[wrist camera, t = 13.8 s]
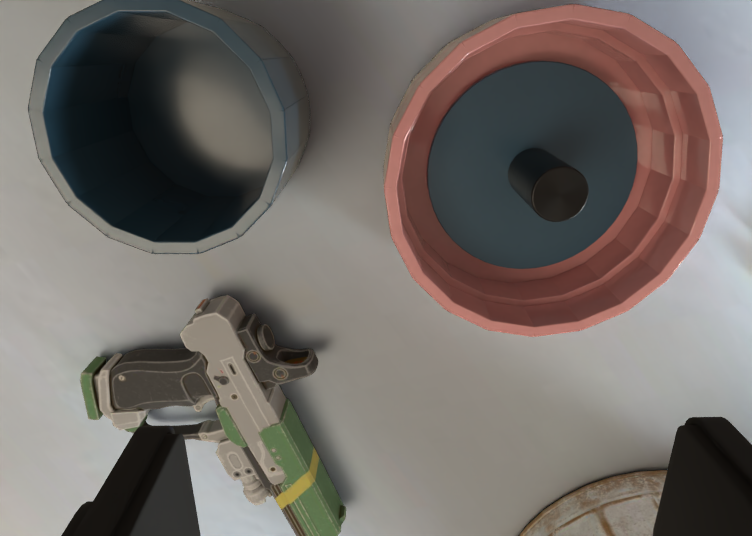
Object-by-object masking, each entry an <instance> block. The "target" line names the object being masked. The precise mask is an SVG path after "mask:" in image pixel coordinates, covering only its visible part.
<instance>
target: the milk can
mask: <svg viewBox="0 0 752 536" xmlns="http://www.w3.org/2000/svg"><path fill="white" fill-rule="evenodd" d="M666 474H667V470H658V471H642V472H634V473H629V474H624V475H619V476H614V477H610V478H607V479H604V480H601V481H598V482H595V483H592V484H589V485H586V486H584V487H582V488H580V489H578V490H576V491H574V492H572V493H570V494H568V495H566V496H564V497H562V498H561V499H559V500H558V501H557V502H555V503H554V504H552V505H551V506H549V507H548V508H546V509H545V510H543V511H542V512H541V513H540V514H539V515H538V516H537V517H536V518H535V519H534V520H533V521H531V522H530V523H529V524H528V525H527V526H526V527H525V529H524V530H523V531H522V533H521V534H520V535H519V536H653V528H654V524H655V520H656V516H657V512H658V508H659V503H660V499H661V495H662V491H663V487H664V482H665V478H666Z"/></svg>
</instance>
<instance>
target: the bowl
mask: <svg viewBox="0 0 752 536" xmlns="http://www.w3.org/2000/svg"><path fill="white" fill-rule="evenodd" d="M529 61H553V62H561V63H565V64H570V65H573V66H576V67H579V68H581V69H584V70H586V71H588V72H590V73H591V74H593V75H595V76H597V77H598V78H599V79H601V80H602V81H603V82H605V83H606V84H607V85H608V86H609V87H610V88H611V89H612V90H613V91H614V92H615V93H616V94H617V95H618V97H619V98H620V100H621V101H622V103H623V104H624V106H625V107H626V109H627V111H628V113H629V116H630V118H631V120H632V123H633V127H634V130H635V134H636V140H637V155H638V160H637V169H636V175H635V179H634V183H633V187H632V190H631V192H630V195H629V198H628V200H627V202H626V204H625V206H624V208H623V209H622V211H621V213H620V214H619V216H618V217H617V219H616V220H615V222H614V223H613V224H612V225H611V226H610V228H609V229H608V230H607V231H606V232H605V233H604V234H603V235H602V236H601V237H600V238H599V239H598V240H597V241H596V242H594V243H593V244H592V245H590V246H589V247H588V248H586V249H585V250H583V251H582V252H580V253H578V254H576V255H575V256H573V257H571V258H569V259H566V260H564V261H562V262H559V263H556V264H552V265H549V266H545V267H539V268H531V269H513V268H505V267H500V266H495V265H492V264H489V263H486V262H484V261H482V260H479V259H477V258H475V257H473V256H472V255H470V254H469V253H467V252H466V251H464V250H463V249H462V248H461V247H459V246H458V245H457V244H456V243H455V242H454V241H453V240H452V239H451V238H450V237H449V235H448V234H447V233H446V232H445V230H444V229H443V227H442V226H441V224H440V223H439V221H438V219H437V216H436V214H435V212H434V210H433V207H432V204H431V200H430V197H429V191H428V185H427V164H428V156H429V151H430V147H431V143H432V140H433V138H434V135H435V132H436V130H437V128H438V126H439V124H440V122H441V120H442V118H443V117H444V115H445V114H446V112H447V111H448V109H449V108H450V107H451V105H452V104H453V103H454V102H455V101H456V100H457V99H458V97H459V96H460V95H461V94H462V93H463V92H465V91H466V90H467V89H468V88H469V87H470V86H471V85H473V84H474V83H476V82H477V81H479V80H480V79H482V78H483V77H485V76H486V75H488V74H490V73H492V72H494V71H496V70H498V69H501V68H504V67H507V66H510V65H513V64H518V63H523V62H529ZM722 137H723V135H722V131H721V128H720V124H719V120H718V117H717V113H716V109H715V105H714V102H713V98H712V94H711V91H710V87H709V86H708V84H707V82H706V81H705V80H704V78H703V77H702V76H701V74H700V73H699V72H698V70H697V69H696V68H695V66H694V65H693V63H692V62H691V61H690V59H689V58H688V57H687V55H686V54H685V53H684V51H683V50H682V49H681V47H680V46H679V44H677V43H676V42H675V41H674V40H672V39H670V38H669V37H667V36H665V35H664V34H662V33H661V32H659V31H657V30H656V29H654V28H652V27H651V26H649V25H648V24H646V23H644V22H643V21H641V20H639V19H638V18H636V17H635V16H633V15H630V14H628V13H623V12H617V11H612V10H606V9H601V8H595V7H590V6H584V5H579V4H568V5H562V6H556V7H550V8H544V9H538V10H532V11H526V12H520V13H515V14H511V15H508V16H504V17H500V18H496V19H493V20H490V21H488V22H487V23H485V24H483V25H481V26H479V27H477V28H475V29H473V30H472V31H470V32H468V33H466V34H464V35H462V36H460V37H458V38H456V39H455V40H453V41H451V42H449V43H448V44H447V45H445V47H444V48H443V49H442V50H441V51H440V52H439V53H438V54H437V55H436V56H435V57H434V58H433V59H432V60H431V61H430V62H429V63H428V64H427V65H426V66H425V67H424V68H423V69H422V70H421V71H420V72H419V73H418V74H417V75H416V76H415V77H414V80H412V81H411V83H410V85H409V87H408V89H407V91H406V93H405V95H404V97H403V99H402V101H401V103H400V105H399V107H398V109H397V111H396V113H395V115H394V117H393V118H392V120H391V123H390V129H389V135H388V140H387V146H386V152H385V158H384V164H383V176H384V193H385V200H386V206H387V213H388V219H389V226H390V233H391V236H392V240H393V242H394V243H395V245H396V247H397V249H398V251H399V253H400V255H401V257H402V259H403V261H404V263H405V265H406V267H407V268H408V270H409V272H410V274H411V276H412V278H413V279H414V280H415V281H416V282H417V283H418V284H419V285H420V286H421V287H422V288H423V289H424V290H425V291H426V292H427V293H428V294H429V295H430V296H431V297H433V298H434V299H435V300H436V301H437V302H438V303H439V304H440V305H441V306H442V307H443V308H444V309H445V310H447V311H448V312H451V313H453V314H455V315H457V316H459V317H461V318H463V319H465V320H467V321H469V322H471V323H474V324H476V325H478V326H480V327H482V328H484V329H486V330H490V331H497V332H503V333H510V334H517V335H524V336H530V337H533V336H534V337H536V336H544V335H551V334H559V333H566V332H574V331H580V330H584V329H586V328H588V327H591V326H593V325H596V324H598V323H600V322H603V321H605V320H608V319H610V318H612V317H615V316H617V315H620V314H622V313H624V312H626V311H628V310H630V309H631V308H632V307H634V306H635V305H636V304H637V303H639V302H640V301H641V300H643V299H644V298H645V297H647V296H648V295H649V294H651V293H652V292H653V291H654V290H656V289H657V288H658V287H660V286H661V285H662V284H664V283H665V282H666V281H667V280H668V279H669V278H670V277H671V275H672V274H673V273H674V271H675V270H676V269H677V268H678V266H679V265H680V264H681V262H682V261H683V260H684V258H685V257H686V256H687V255H688V253H689V252H690V251H691V249H692V248H693V247H694V245H695V244H696V243H697V242H698V240H699V238H700V236H701V234H702V231H703V229H704V226H705V224H706V221H707V219H708V216H709V214H710V211H711V209H712V206H713V204H714V201H715V199H716V196H717V194H718V189H719V184H720V170H721V157H722V143H723V138H722Z"/></svg>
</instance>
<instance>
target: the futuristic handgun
mask: <svg viewBox="0 0 752 536" xmlns="http://www.w3.org/2000/svg"><path fill="white" fill-rule="evenodd" d="M195 312H196V313H195V314H194V315H193V317H192V318H191V319H190V321H189V322H188V324H187V325H186V326H185V328H184V329H183V330H182V332H181V333H180V336H181V338H182V340H183V342H184V345H185V347H186V348H182V349H140V350H134V351H131V352H129V353H127V354H125V355H124V356H123V355H122V354H120V353H116V354H115V355H114V356H113V357H112V358H111V359H110V360H109V361H108V362H107V363H106V359H107V358H106V357H96V358H95V359H94V360H93V361H92V362H91V363H90V364H89V365H88V366H87V368H86V369H85V370H84V371H83V372H82V373H81V380H80V382H81V387H82V391H83V396H84V401H85V405H86V410H87V414H88V419H91V420H99V419H100V418H101V417H102V415H103V414H104V416H106V417H107V418H109V419H111V420H112V422H113V426H115V427H116V428H118V429H119V430H126V431H128V432H132V433H135V431H136V430H137V428H138V427H140V426H151V425H149V424H147V422H146V419H147V416H148V412H149V411H150V409H160V408H164V407H168V406H193V407H194V409H195V410H196V412H201V410H202V408H203V406H204V404H205V403H207V402H208V401H210V400H215V402H216V405H217V408H216V413H217V415H218V418H219V420H216V421H212V420H208V421H204V422H202V423H199V424H194V425H179V426H172V427H173V429H174V432H175V434H178V433H181V434H182V435H183V436H184V439H196V440H202V441H208V442H216V443H219V444H218V449H217V451H216V454H217V456H218V458H219V459H220V461H221V463H222V465H223V466H224V468H225V470H226V472H227V473H228V475H229V476H230V477H231V478H232V479H234V480H238V479H241V480H242V484H243V486H244V490H243V492H244V494H245V496H246V498H247V499H248V500H249V501H250V502H251V503H252V504H254V505H260V504H263V503H264V502H266V500H265V497H266V496H269V497H271V496H272V495H273V497H274V498H275V500H276V502H277V503H278V505H279V507H280V508H281V510H282V512H283V514H284V515H285V517H286V519H287V520H288V522H289V524H290V526H291V527H292V529H293V531H294V533H295V534H296V536H338V534H339V533H340V532H341V524H342V523H343V521H344V520H345V517H346V507H345V506H343V503H342V501H341V499H340V497H339V495H338V493H337V491H336V489H335V487H334V485H333V483H332V482H331V480H330V478H329V476H328V474H327V472H326V470H325V468H324V466H323V464H322V462H321V460H320V458H319V456H318V454H317V452H316V451H315V449H314V447H313V445H312V443H311V441H310V439H309V437H308V435H307V433H306V431H305V429H304V427H303V425H302V423H301V422H300V420H299V418H298V416H297V414H296V412H295V410H294V408H293V406H292V404H291V402H290V400H289V399H286V398H285V396H284V394H283V392H282V390H281V388H280V386H279V384H283V383H286V382H290V381H293V380H297V379H300V378H303V377H307V376H310V375H312V374H313V373H314V372H315V370H316V368H317V365H318V359H317V357H316V355H315V353H314V351H313V350H312V349H310V348H308V349H298V350H297V349H288V348H284V347H280V346H277V345H275V340H274V336H273V333H272V331H271V329H270V327H269V326H268V325H266V324H264V325H261V324H260V322H259V320H258V318H257V316H256V315H255V314H251V315H248V316H246V315H245V313H244V311H243V309H242V307H241V306H240V304H239V302H238V301H236V300H235V299H233V298H232V297H230V296H229V295H226V296H221V297H217V298H214V299H212V300H209V299H208V298H207V299H204V300H202V301H201V303H200V304H199V305H198V307H197V308H196V309H195Z"/></svg>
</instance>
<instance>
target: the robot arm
mask: <svg viewBox="0 0 752 536" xmlns="http://www.w3.org/2000/svg"><path fill="white" fill-rule="evenodd" d="M62 536H200V530H199V524H198V518H197V512H196V506H195V500H194V494H193V488H192V482H191V476H190V470H189V464H188V458H187V452H186V446H185V440H184V436H183V435H182V434H181V433H178V434H175V432H174V429H173V427H172V426H140V427H138V428H137V430H136V431H135V433H134V434H133V436H132V438H131V439H130V441H129V443H128V444H127V446H126V448H125V449H124V451H123V453H122V454H121V456H120V458H119V459H118V461H117V463H116V464H115V466H114V468H113V469H112V471H111V473H110V474H109V476H108V478H107V479H106V481H105V483H104V484H103V486H102V488H101V489H100V491H99V493H98V494H97V496H96V498H95V499H94V501H93V502H86V503H85V504H83V505H82V506H81V507H80V508H79V509H78V511H77V512H76V513H75V515H74V517H73V518H72V520H71V521H70V523H69V525H68V526H67V528H66V529H65V531H64V533H63V534H62ZM653 536H752V445H751V444H750V443H749V442H748V441H747V439H746V438H745V437H744V436H743V435H742V434H741V433H740V432H739V431H738V430H737V429H736V428H735V427H734V426H733V425H732V424H731V423H730V422H729V421H728V420H726V419H725V418H722V417H692V418H689V419H688V420H687V421H686V423H685V425H683V426H680V427H679V428H678V430H677V432H676V436H675V441H674V445H673V449H672V453H671V457H670V461H669V466H668V470H667V474H666V478H665V482H664V487H663V491H662V495H661V499H660V503H659V508H658V512H657V516H656V520H655V524H654V528H653Z"/></svg>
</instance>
